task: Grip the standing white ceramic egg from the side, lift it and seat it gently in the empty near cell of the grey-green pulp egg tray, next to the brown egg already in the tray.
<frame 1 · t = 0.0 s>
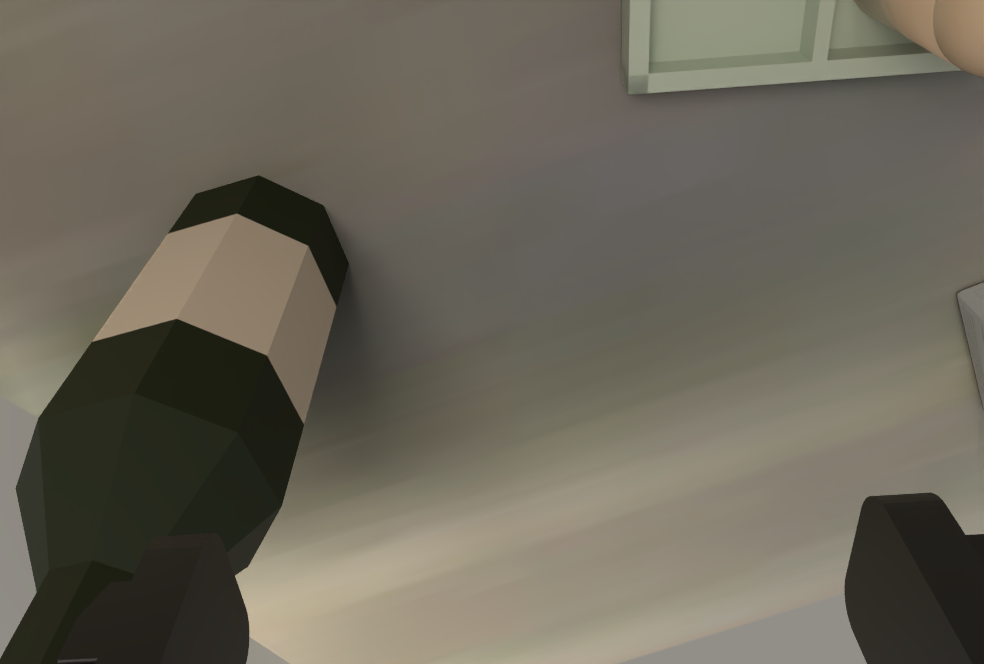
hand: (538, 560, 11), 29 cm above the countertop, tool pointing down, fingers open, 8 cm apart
wine bottle: (263, 253, 41), on the countertop
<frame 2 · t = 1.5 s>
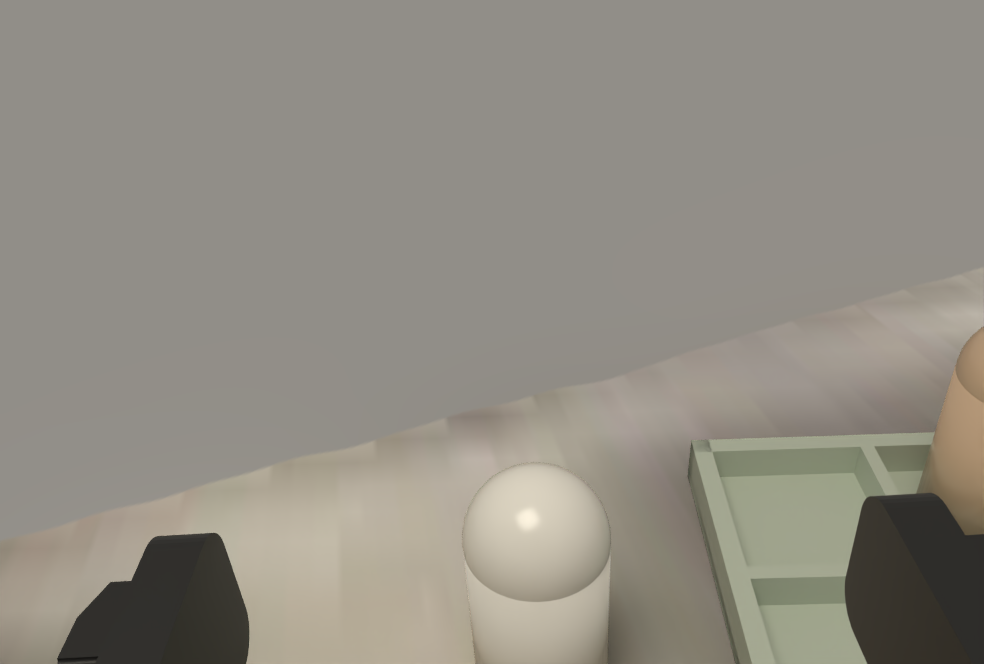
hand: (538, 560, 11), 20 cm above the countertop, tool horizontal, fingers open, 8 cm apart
egg tray: (918, 605, 34), on the countertop
brown egg: (973, 524, 36), point 1 cm above the countertop, touching egg tray
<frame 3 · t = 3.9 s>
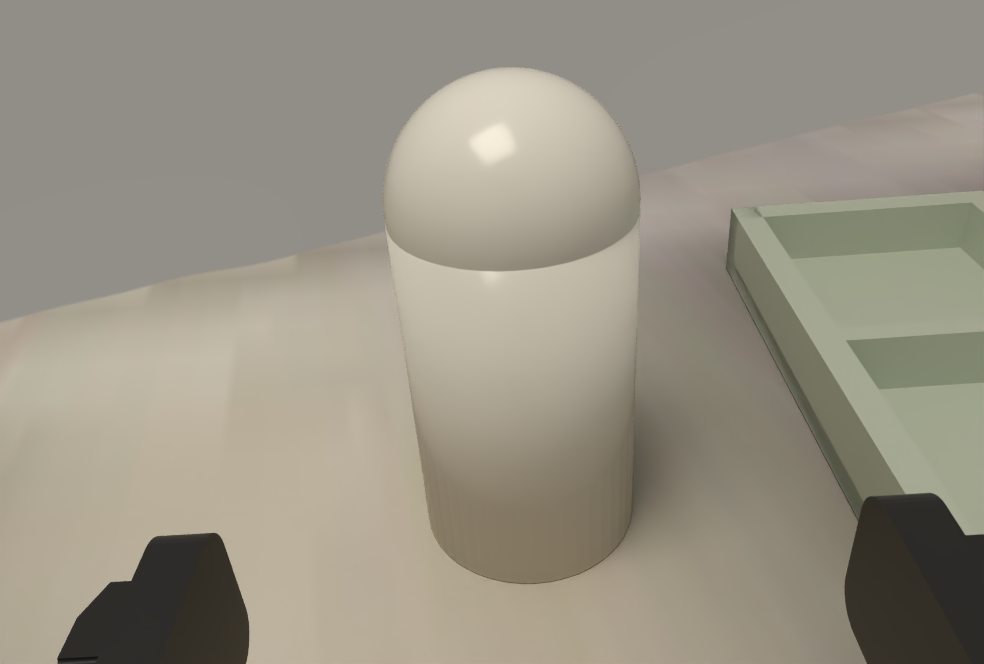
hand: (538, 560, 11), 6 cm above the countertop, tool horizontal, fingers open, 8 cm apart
white egg: (529, 503, 20), on the countertop
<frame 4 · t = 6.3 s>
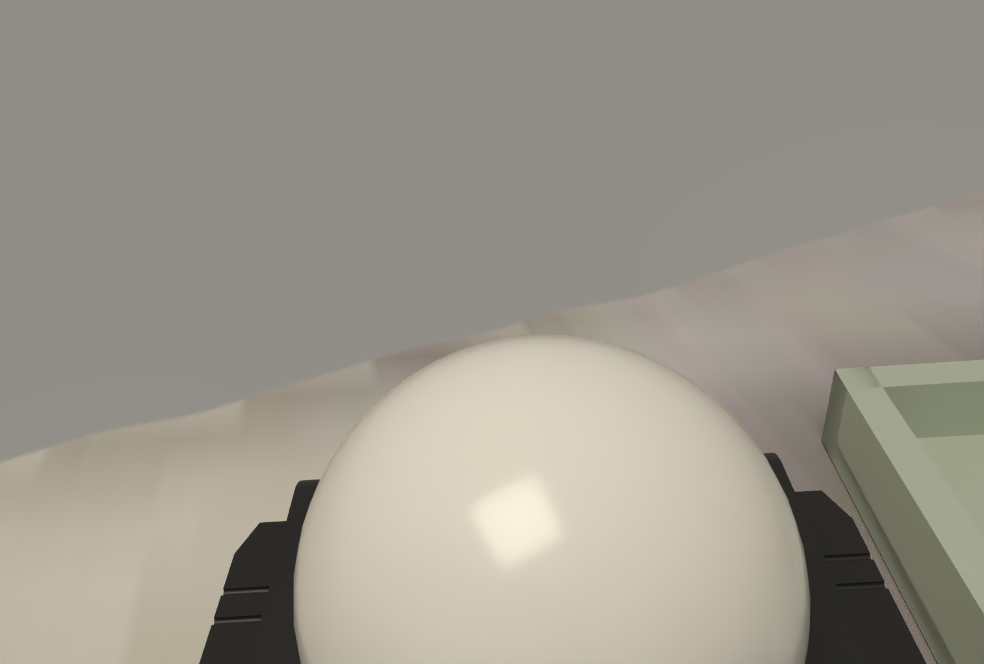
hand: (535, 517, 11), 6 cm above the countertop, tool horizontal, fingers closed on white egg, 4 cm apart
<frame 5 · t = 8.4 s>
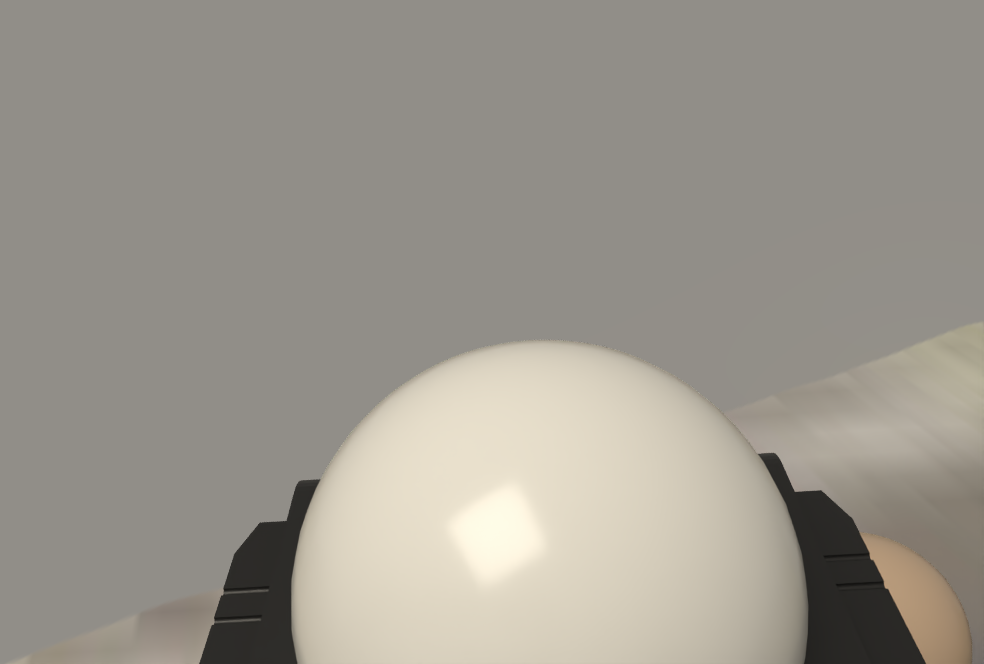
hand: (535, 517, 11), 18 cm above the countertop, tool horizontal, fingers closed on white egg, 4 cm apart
when the fingers open (8 cm above the countertop, at t = 10.8 s): white egg drops 1 cm, resting on egg tray.
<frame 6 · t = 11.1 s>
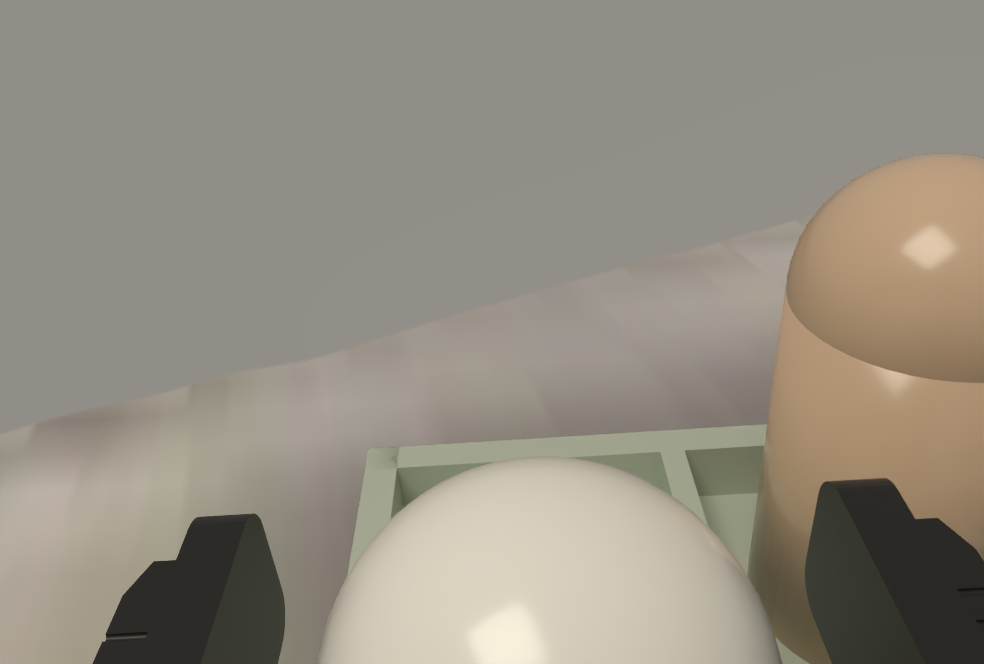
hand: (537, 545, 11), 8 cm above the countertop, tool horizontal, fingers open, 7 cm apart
brown egg: (857, 592, 19), point 1 cm above the countertop, touching egg tray
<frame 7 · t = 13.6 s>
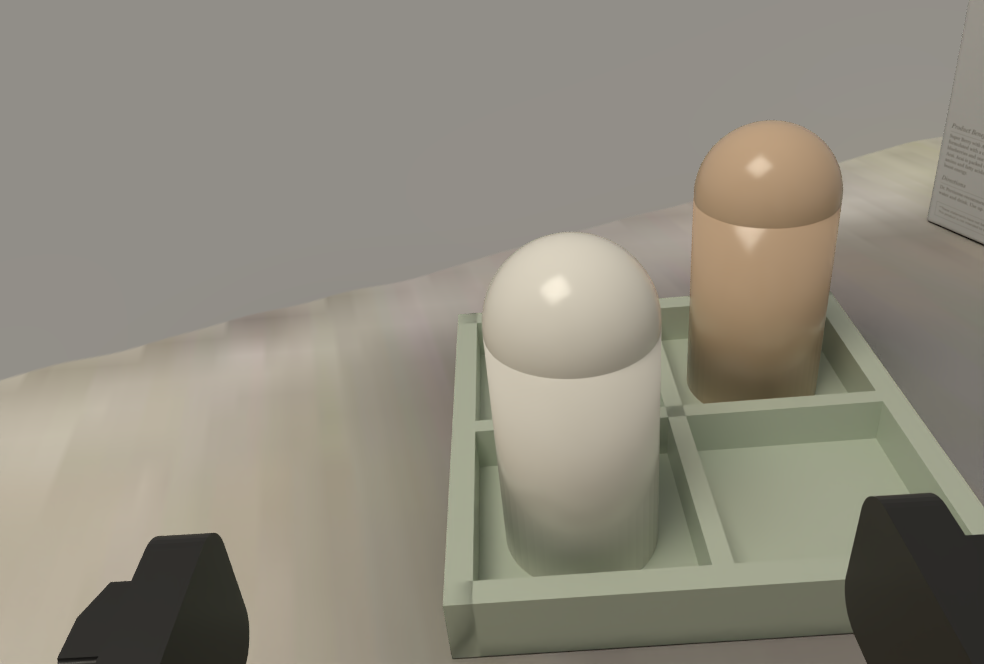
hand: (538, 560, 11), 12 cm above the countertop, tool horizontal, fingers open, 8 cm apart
egg tray: (673, 460, 30), on the countertop
brown egg: (749, 380, 33), point 1 cm above the countertop, touching egg tray
white egg: (581, 530, 27), point 1 cm above the countertop, touching egg tray
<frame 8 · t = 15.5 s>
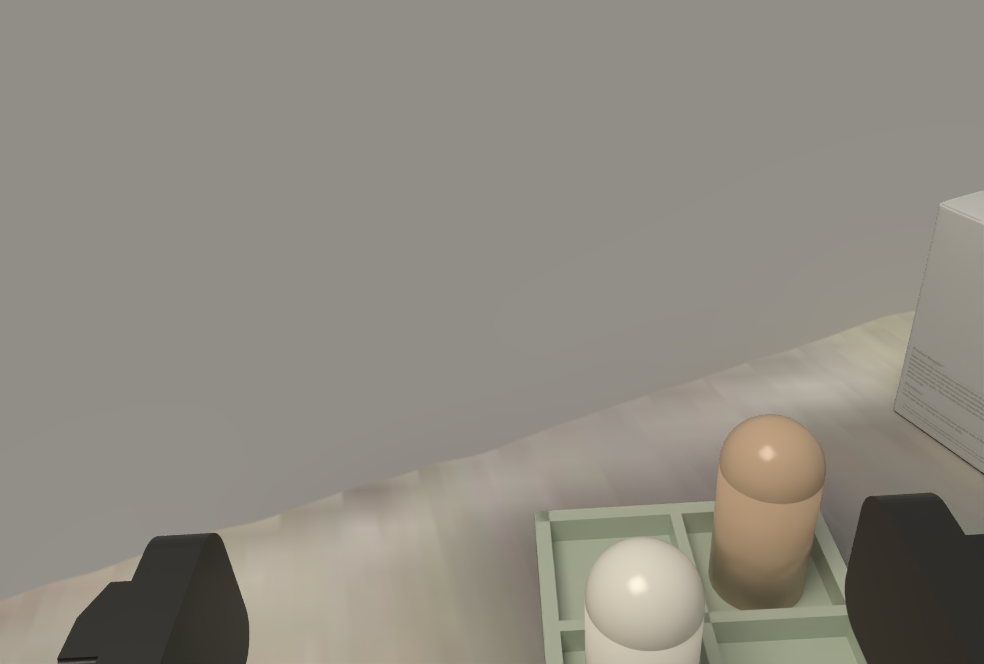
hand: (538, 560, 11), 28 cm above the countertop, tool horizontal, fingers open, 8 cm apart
egg tray: (700, 647, 42), on the countertop
brown egg: (755, 577, 44), point 1 cm above the countertop, touching egg tray
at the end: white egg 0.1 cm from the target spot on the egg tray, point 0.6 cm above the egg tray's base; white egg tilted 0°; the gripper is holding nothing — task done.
